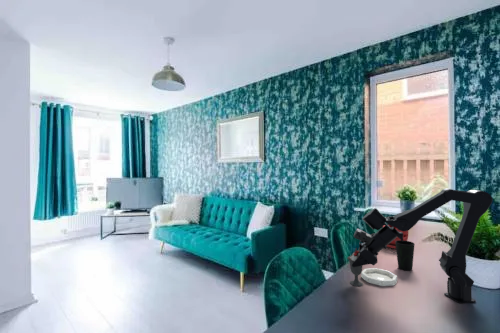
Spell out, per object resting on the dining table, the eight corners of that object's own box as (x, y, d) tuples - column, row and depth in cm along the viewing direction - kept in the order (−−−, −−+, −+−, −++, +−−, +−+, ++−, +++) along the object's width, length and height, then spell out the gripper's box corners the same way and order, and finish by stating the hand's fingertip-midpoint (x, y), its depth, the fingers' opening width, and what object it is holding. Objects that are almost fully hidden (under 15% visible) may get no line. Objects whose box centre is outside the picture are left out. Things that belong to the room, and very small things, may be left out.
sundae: (354, 288, 102) (354, 250, 102) (344, 281, 109) (343, 245, 109) (369, 286, 104) (368, 248, 104) (358, 279, 110) (357, 243, 110)
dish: (403, 284, 105) (403, 279, 105) (373, 286, 103) (373, 281, 103) (384, 272, 118) (383, 267, 118) (356, 273, 116) (356, 269, 116)
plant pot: (413, 250, 147) (413, 228, 147) (390, 250, 147) (390, 229, 147) (400, 243, 160) (400, 224, 160) (379, 243, 160) (378, 224, 160)
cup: (417, 272, 117) (417, 245, 117) (399, 271, 118) (398, 244, 118) (410, 265, 124) (410, 240, 124) (393, 264, 126) (392, 239, 126)
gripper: (365, 218, 114) (339, 241, 118) (367, 228, 96) (335, 254, 100) (386, 238, 111) (358, 261, 115) (391, 251, 93) (358, 278, 97)
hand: (352, 263), depth 107 cm, fingers closed on sundae, 7 cm apart
